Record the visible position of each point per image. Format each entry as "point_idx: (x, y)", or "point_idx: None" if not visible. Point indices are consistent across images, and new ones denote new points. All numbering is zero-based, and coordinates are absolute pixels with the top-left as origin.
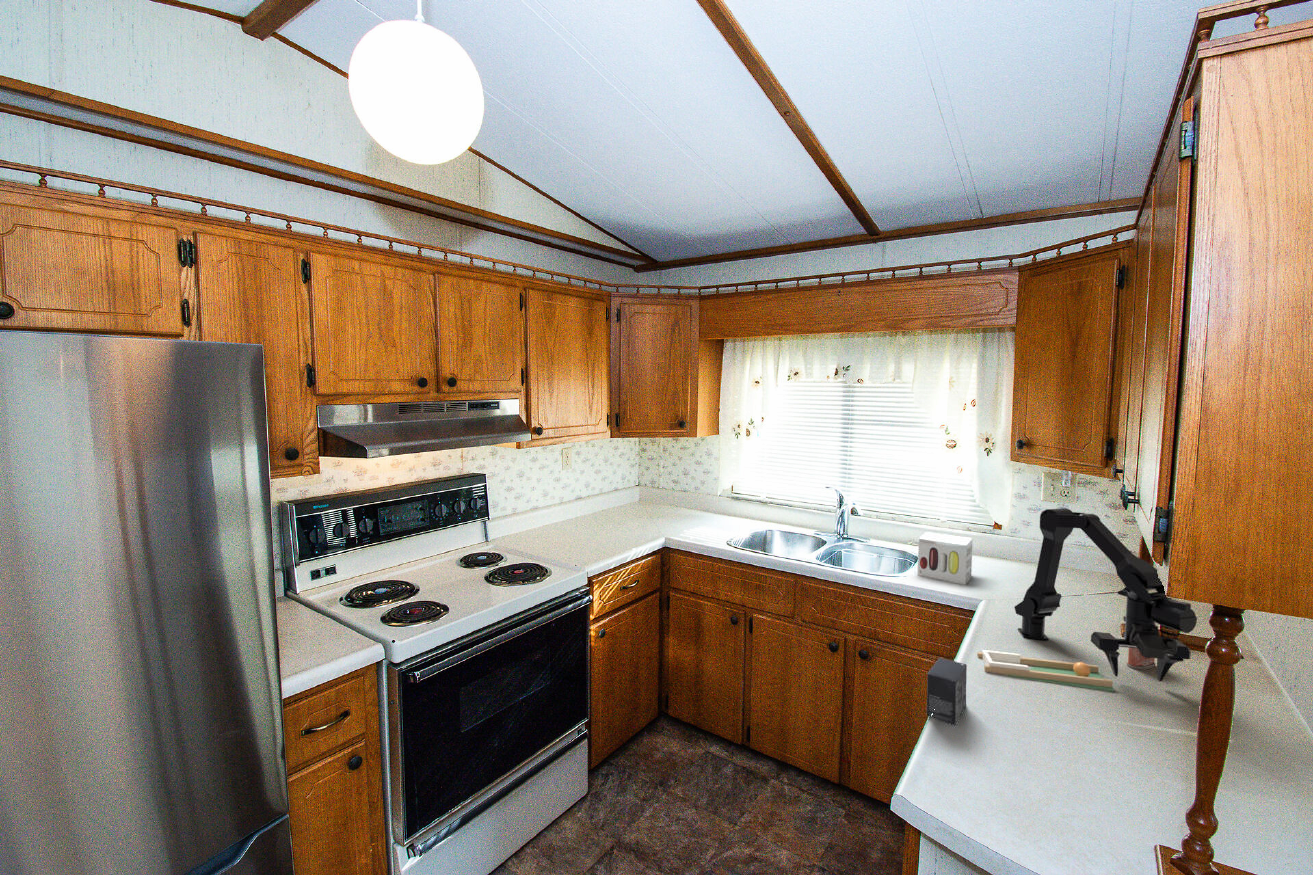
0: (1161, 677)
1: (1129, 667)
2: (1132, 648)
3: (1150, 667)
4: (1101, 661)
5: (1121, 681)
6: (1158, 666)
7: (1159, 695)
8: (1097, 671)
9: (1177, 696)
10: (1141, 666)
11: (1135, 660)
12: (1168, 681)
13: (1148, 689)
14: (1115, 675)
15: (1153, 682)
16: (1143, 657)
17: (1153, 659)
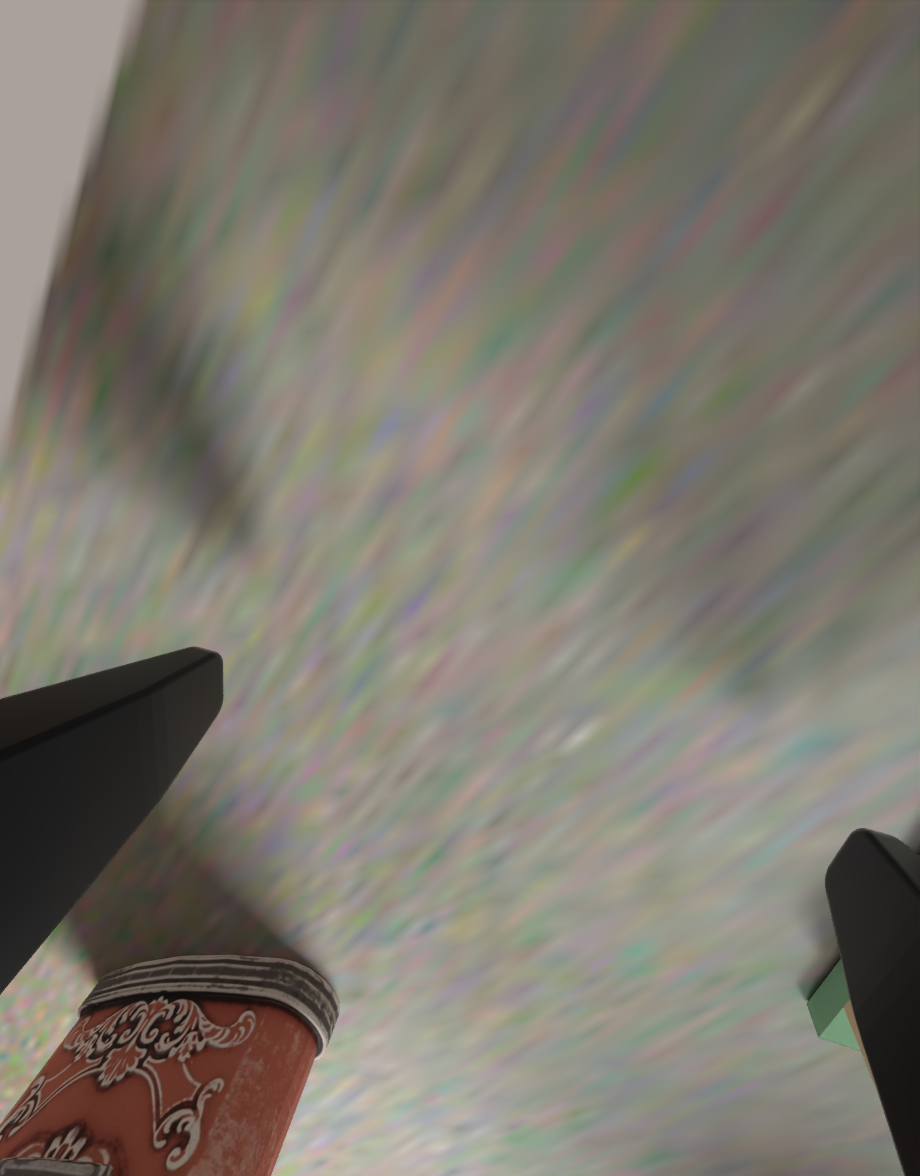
0: (154, 676)
1: (332, 1000)
2: None
3: (145, 971)
4: (519, 1112)
5: (667, 781)
6: (25, 909)
7: (408, 380)
8: None
9: (163, 377)
10: (221, 993)
11: (244, 1085)
12: None
13: (448, 571)
14: (902, 844)
15: (267, 742)
16: (134, 1114)
17: (58, 1058)
